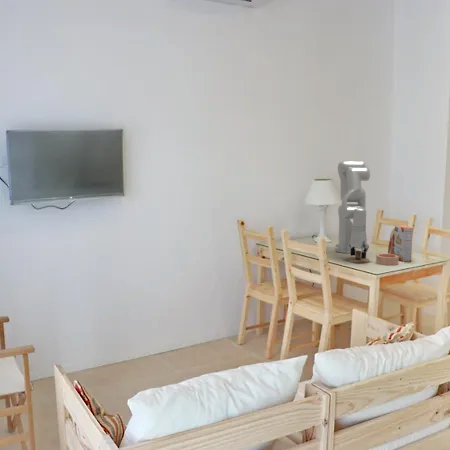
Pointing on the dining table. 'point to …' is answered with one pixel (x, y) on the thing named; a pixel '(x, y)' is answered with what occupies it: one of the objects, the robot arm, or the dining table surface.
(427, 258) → the dining table surface
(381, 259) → the bowl
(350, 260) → the lid
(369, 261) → the mat
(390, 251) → the milk carton
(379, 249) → the dining table surface
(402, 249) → the cracker box
